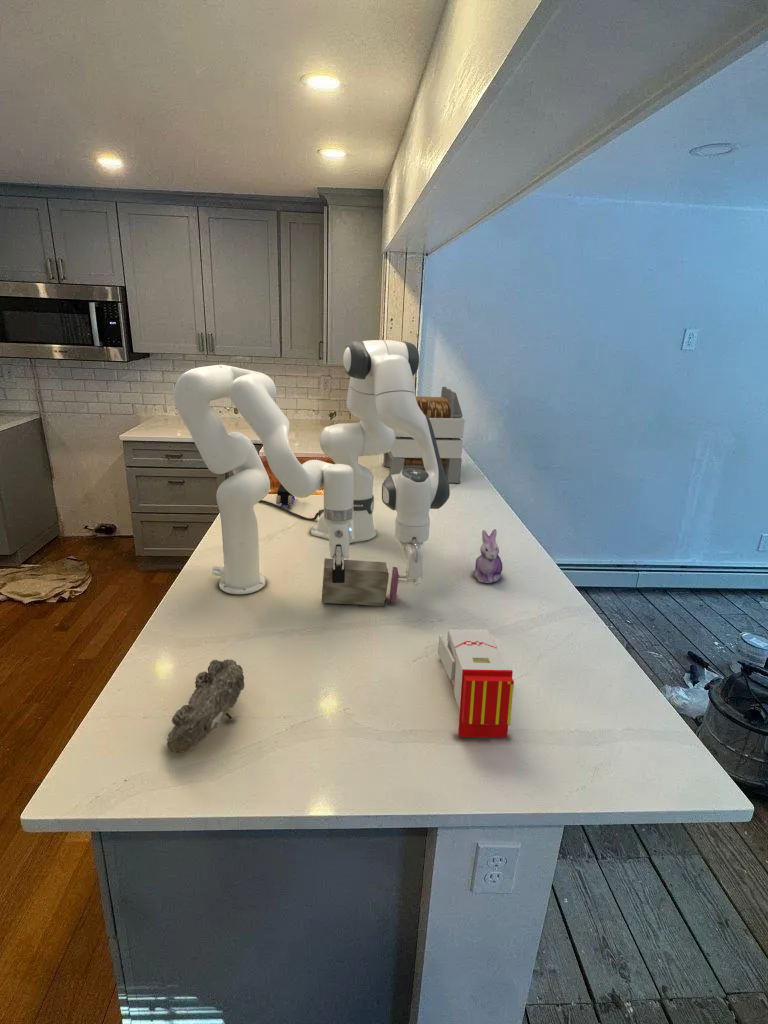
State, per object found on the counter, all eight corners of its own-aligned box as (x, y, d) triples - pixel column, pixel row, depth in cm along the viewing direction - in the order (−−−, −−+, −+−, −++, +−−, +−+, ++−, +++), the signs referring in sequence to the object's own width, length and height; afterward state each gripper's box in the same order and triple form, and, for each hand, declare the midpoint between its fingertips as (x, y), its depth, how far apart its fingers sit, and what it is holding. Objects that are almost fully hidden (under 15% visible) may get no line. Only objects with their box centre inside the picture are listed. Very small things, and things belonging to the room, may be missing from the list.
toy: (488, 613, 130) (523, 677, 101) (484, 667, 133) (517, 744, 104) (435, 612, 130) (455, 676, 101) (432, 666, 133) (451, 743, 103)
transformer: (382, 463, 289) (386, 382, 275) (445, 464, 293) (451, 384, 279) (390, 482, 257) (394, 392, 243) (460, 483, 261) (468, 394, 247)
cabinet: (382, 595, 157) (386, 562, 153) (383, 606, 151) (388, 571, 148) (321, 591, 155) (324, 558, 152) (321, 602, 149) (324, 567, 146)
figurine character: (293, 513, 218) (297, 497, 231) (292, 495, 215) (297, 480, 228) (275, 513, 218) (281, 496, 231) (274, 495, 214) (280, 479, 228)
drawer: (414, 595, 157) (418, 568, 154) (416, 603, 153) (420, 576, 150) (337, 590, 155) (340, 563, 152) (337, 599, 150) (340, 571, 147)
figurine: (485, 587, 164) (491, 539, 159) (465, 572, 172) (469, 526, 167) (511, 581, 168) (517, 534, 163) (490, 567, 176) (495, 522, 171)
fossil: (192, 660, 117) (244, 628, 112) (224, 691, 120) (276, 661, 115) (142, 746, 98) (202, 712, 93) (182, 779, 101) (242, 748, 96)
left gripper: (354, 525, 137) (353, 591, 143) (352, 502, 153) (351, 562, 159) (323, 525, 136) (323, 592, 142) (324, 502, 152) (324, 563, 158)
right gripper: (430, 546, 138) (427, 597, 143) (418, 518, 157) (416, 563, 162) (404, 546, 138) (402, 597, 142) (396, 517, 157) (394, 563, 161)
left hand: (338, 576), depth 150 cm, fingers closed on cabinet, 6 cm apart
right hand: (409, 579), depth 152 cm, fingers closed, pressing on drawer
